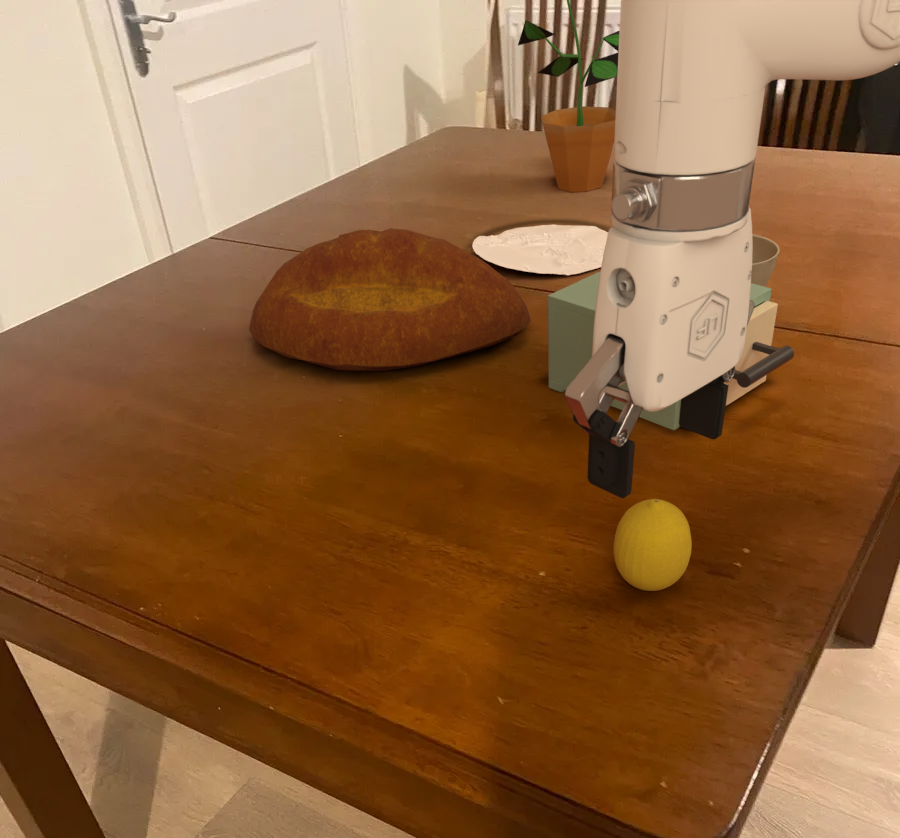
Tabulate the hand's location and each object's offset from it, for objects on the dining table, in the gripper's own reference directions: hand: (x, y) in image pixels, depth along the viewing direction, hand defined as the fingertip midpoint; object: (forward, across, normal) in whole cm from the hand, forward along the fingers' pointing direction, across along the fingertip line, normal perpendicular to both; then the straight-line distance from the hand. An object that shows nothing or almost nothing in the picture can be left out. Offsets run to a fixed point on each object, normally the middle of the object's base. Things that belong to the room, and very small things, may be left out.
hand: (655, 459), depth 62 cm
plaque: (+11, +48, +55) cm, 74 cm away
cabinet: (+11, +26, +20) cm, 35 cm away
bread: (+12, +16, +50) cm, 54 cm away
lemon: (+12, 0, 0) cm, 12 cm away
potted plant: (+11, +73, +71) cm, 103 cm away
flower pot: (+11, +46, +25) cm, 54 cm away
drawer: (+10, +26, +16) cm, 33 cm away
